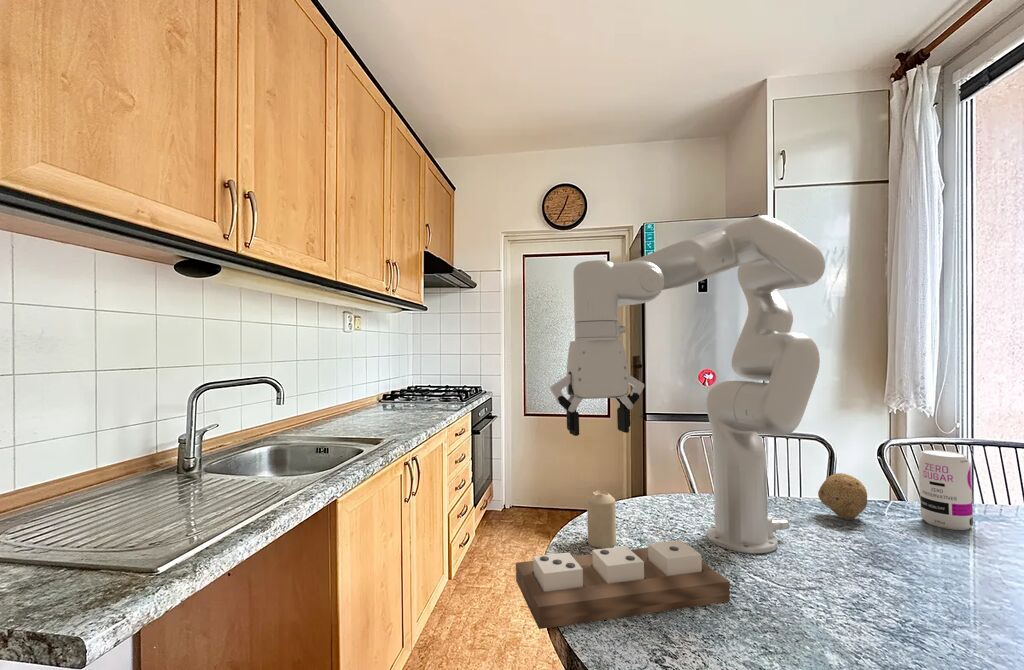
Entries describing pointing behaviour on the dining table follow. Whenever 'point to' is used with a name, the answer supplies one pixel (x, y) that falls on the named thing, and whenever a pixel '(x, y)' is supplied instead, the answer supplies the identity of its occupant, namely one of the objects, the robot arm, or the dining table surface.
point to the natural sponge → (843, 495)
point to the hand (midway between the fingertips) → (599, 432)
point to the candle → (601, 520)
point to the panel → (619, 593)
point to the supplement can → (946, 489)
